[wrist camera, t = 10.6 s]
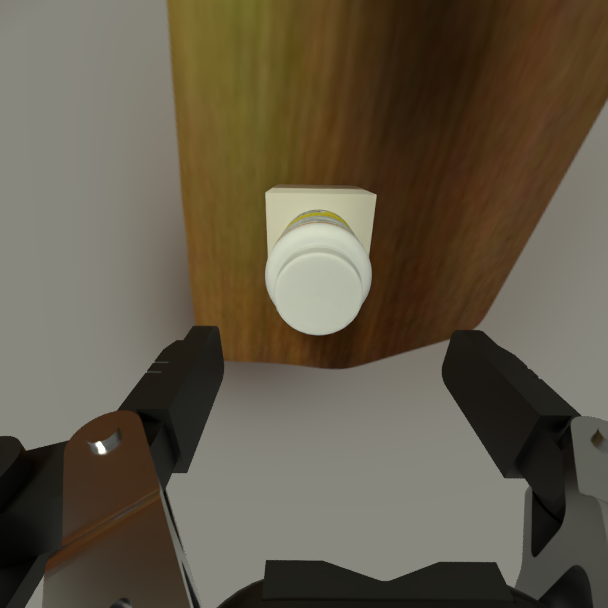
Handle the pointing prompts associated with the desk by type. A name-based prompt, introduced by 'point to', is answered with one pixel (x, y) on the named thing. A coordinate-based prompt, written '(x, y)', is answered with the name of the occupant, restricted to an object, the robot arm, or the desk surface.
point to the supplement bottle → (318, 273)
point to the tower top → (343, 202)
